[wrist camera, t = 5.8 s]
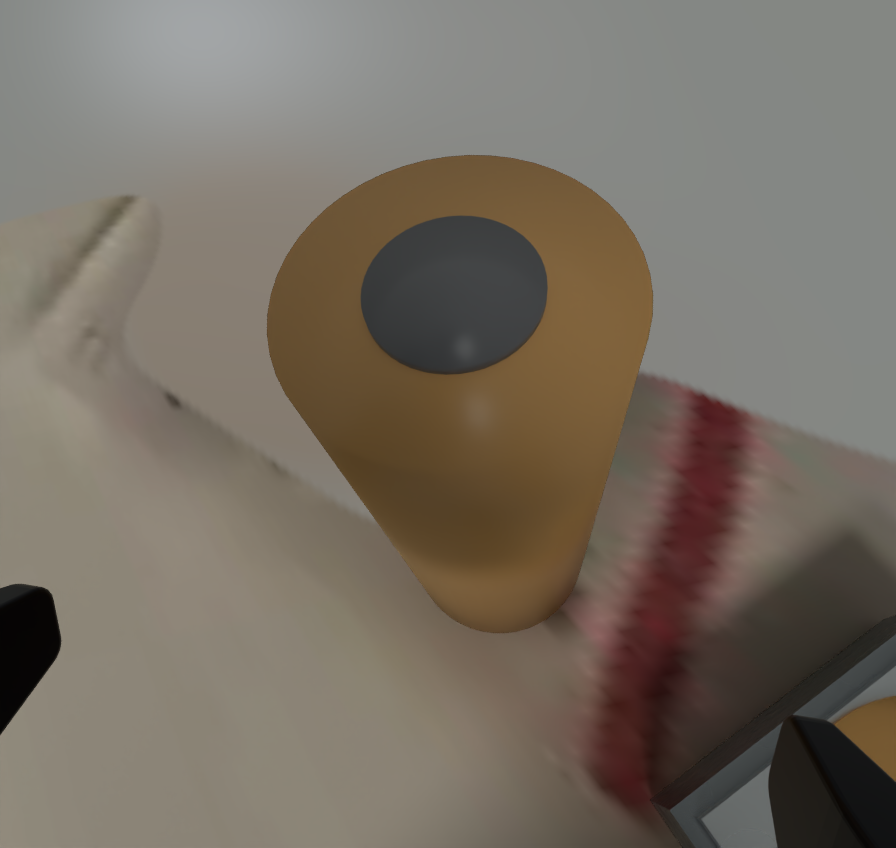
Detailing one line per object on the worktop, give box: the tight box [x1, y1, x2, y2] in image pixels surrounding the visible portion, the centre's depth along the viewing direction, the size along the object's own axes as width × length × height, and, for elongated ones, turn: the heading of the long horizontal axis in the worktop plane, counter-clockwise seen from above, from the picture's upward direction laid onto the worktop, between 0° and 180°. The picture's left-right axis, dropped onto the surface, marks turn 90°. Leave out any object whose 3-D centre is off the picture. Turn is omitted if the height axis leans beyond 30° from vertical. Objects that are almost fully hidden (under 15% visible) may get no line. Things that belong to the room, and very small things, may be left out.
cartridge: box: [267, 155, 653, 633], centre depth 14 cm, size 5×5×13 cm
